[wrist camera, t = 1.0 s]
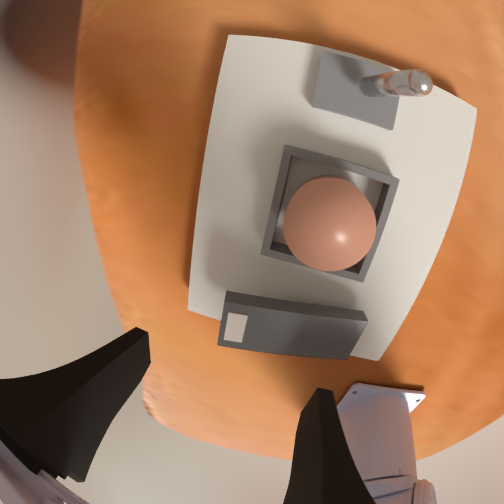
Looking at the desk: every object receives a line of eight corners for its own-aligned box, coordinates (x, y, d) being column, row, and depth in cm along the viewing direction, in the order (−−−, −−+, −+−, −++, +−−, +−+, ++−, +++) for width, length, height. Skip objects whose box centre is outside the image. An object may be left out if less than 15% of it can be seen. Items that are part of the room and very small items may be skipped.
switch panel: (376, 347, 18) (380, 373, 15) (195, 298, 20) (180, 319, 17) (465, 110, 10) (488, 108, 8) (236, 42, 12) (221, 27, 10)
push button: (353, 262, 13) (358, 281, 12) (279, 241, 14) (273, 257, 12) (378, 188, 12) (388, 197, 10) (298, 165, 12) (295, 169, 10)
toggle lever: (371, 100, 10) (436, 101, 6) (353, 93, 10) (415, 88, 6) (375, 82, 9) (440, 76, 6) (356, 74, 9) (418, 62, 5)
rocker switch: (343, 348, 16) (347, 360, 15) (219, 333, 16) (217, 346, 15) (363, 310, 15) (368, 322, 14) (226, 290, 14) (224, 302, 13)
